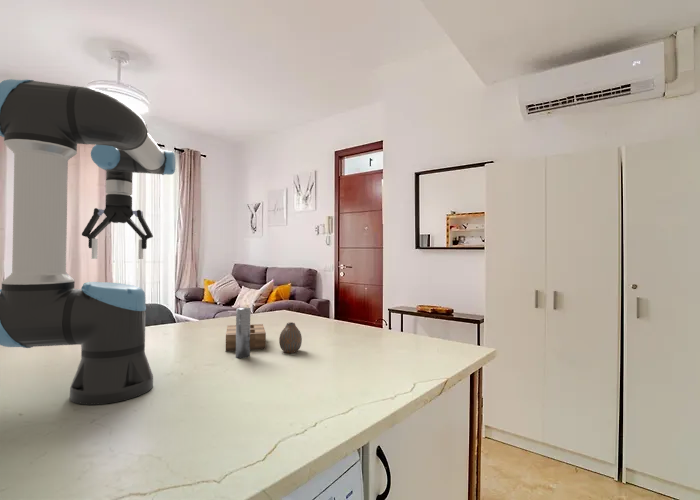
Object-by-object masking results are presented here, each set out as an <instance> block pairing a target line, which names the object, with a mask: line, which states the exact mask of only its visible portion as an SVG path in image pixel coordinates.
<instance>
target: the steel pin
mask: <svg viewBox="0 0 700 500" xmlns="http://www.w3.org/2000/svg"><path fill="white" fill-rule="evenodd" d="M235 313H236V314H235V325H236V351H235V358H236V359H248V358H250V357H251V356H250V355H251V350H250V325H251V307H236V309H235Z"/></svg>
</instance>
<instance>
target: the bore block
mask: <svg viewBox="0 0 700 500" xmlns="http://www.w3.org/2000/svg"><path fill="white" fill-rule="evenodd" d="M265 329H266V328H265V326H264V323H258V324H250V351H255V350H266V349H267V347H266V345H267V341H266V339H267V338H266V337H267V335H266V334H267V333H266V330H265ZM225 352H236V324H230V325H226V332H225Z"/></svg>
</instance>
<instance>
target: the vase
mask: <svg viewBox="0 0 700 500" xmlns="http://www.w3.org/2000/svg"><path fill="white" fill-rule="evenodd" d="M278 341H279V347H280V349H281V350H282V351H283V352H284V353H285V354H294V353H297V352H298V351H299V350H300V348H301V347H302V343H303V336H302V333H301V330H300V329H299V328H298V326H297V325H296V323H295V322H291V321H290V322H286V325H285V326H284V327H283V329H282V330H281V332H280V335H279V339H278Z"/></svg>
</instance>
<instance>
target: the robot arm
mask: <svg viewBox="0 0 700 500" xmlns="http://www.w3.org/2000/svg"><path fill="white" fill-rule="evenodd" d="M0 136H1V137H2V138H3V144H4V145H5V146H6V147H7V148H8V149H9V150H10V151H11V152H12V153H13V155H14V157H13V202H12V203H13V207H12V208H13V209H12V210H13V211H12V253H11V254H12V265H11V267H12V269H11V270H12V271H11V273H10V274H9V275H8V276H7V277H6V278H5V279H3V280H2V281H1V288H0V346H2V347H5V348H24V349H31V348H36V347H37V348H38V347H57V346H59V347H60V346H74V345H75V346H76V345H80V347H81V348H80V349H81V352H80V354H81V355H80V361H79V364H78V367H77V370H76V373H75V375H74V377H73V380H72V382H71V385H70V388H69V400H70V401H71V402H72V403H75V404H79V405H89V406H90V405H105V404H112V403H118V402H123V401H127V400H130V399H133V398H136V397H140V396H142V395H143V394H146V393H148V392H149V391H150V390H152V388H153V386H154V374H153V372H152V369H151V366H150V363H149V361H148V357H147V354H146V352H145V350H146V349H145V347H146V317H147V316H146V310H147V306H146V304H147V303H146V292H145V290H143V288H142V287H140V286H137V285H133V284H126V283H121V282H120V283H119V282H111V281H110V282H108V281H107V282H106V281H103V282H102V281H88V282H84V283H83V284H82V285H81V288H75V282H76V280H75V279H74V278H73V277H72V276H71V275H69V274H68V273H67V239H68V238H67V233H68V232H67V229H68V228H67V226H68V225H67V224H68V179H69V178H68V177H69V175H68V174H69V173H68V171H69V170H68V169H69V168H68V167H69V165H68V164H69V160H70V159H72V158H73V157H75V156H76V155H77V154H78V152H77V150H78V149H77V148H78V144H79V145H93V146H92V147H91V148H92V149H91V150H90V157H91V160H92V161H93V163H95V165H96V167H98V168H100V169H102V170H104V171H105V193H106V195H105V207H104V209H101V208H97V207H95V208H94V209H93V214H92V216H91V218H90V219H89V221H88V223H87V224H86V226H85V227H84V229H83V230H82V233H81V236H83V237H85V238H87V239H88V249H91V259H95V260H96V259H98V247H99V246H98V244H99V242H98V241H99V239H98V238H96V237H97V236H98V235H99V234H101V232H103V230H104V229H105V228H107V226H108V225H111V223H114V224H118V223H120V224H126V223H127V225H129V226H130V227H131V229H132V230H133V231H134V232H135V233H136V234H137V235H138V236H139V238H140V239H138V260H143V259H144V250H146V249H147V242H148V239H151V238H154V235H153V233H152V231H151V229H150V228H149V225H148V224H147V222H146V219H145V217H144V212H143V211H142V210H141V209H137V210H133V197H132V195H133V173H134V174H135V173H136V174H137V173H138V174H139V173H140V174H150V175H151V174H152V175H162V176H164V175H173V174H175V173H176V156H175V153H174V152H173V151H171V150H166V149H161V148H160V147H159V145H158V144H157V143H156V141H155V140H154V139H153V138H152V136H151V135H150V134H149V129H148V126H147V124H146V122H145V120H144V118H143V117H142V116H141V114H139V112H138V111H137V110H135V108H133V107H132V106H130V105H128V104H127V103H126V102H124V101H122V100H121V99H119V98H117V97H115V96H114V95H112V94H110V93H108V92H105V91H103V90H100V89H96V88H93V87H88V86H79V85H70V84H61V83H53V82H48V81H47V82H45V81H38V80H33V79H13V78H10V79H5V80H3V81H1V82H0ZM103 214H104V215H105V216H106V217H105V218H104V219H103V220H102V222H101V223H99V224H98V225H97V226H96V224H97V222H98V221H99V219H100V217H102V216H103ZM133 215H134V216H135V217H136V218H137V219H138V221H139V223H140V225H141V227H142V229H143V230H144V232H143V231H142V230H141V229H140V228H139V227H138V225H137V224H136V223H135V222H134V221H133V219H132V218H131V217H133ZM95 226H96V227H95Z"/></svg>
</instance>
